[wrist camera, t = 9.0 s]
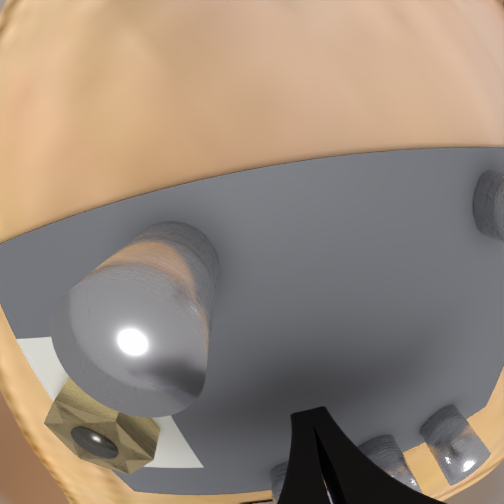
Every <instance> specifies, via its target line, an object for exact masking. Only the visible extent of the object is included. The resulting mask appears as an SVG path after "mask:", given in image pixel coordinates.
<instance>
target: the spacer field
mask: <svg viewBox="0 0 504 504" xmlns="http://www.w3.org/2000/svg"><path fill="white" fill-rule="evenodd" d="M472 210H473V218H474V222H475V225H476V227H477V229H478V230H479V232H480V233H482V234H483V235H485V236H488V237H490V238H493V239H495V240H498V241H500V242H503V243H504V172H501V171H493V170H488V171H486V172H484V173H483V174H482V175H481V176H480V178H479V179H478V181H477V183H476V186H475V189H474V194H473V202H472ZM218 277H219V260H218V256H217V252H216V250H215V248H214V246H213V244H212V243H211V241H210V240H209V239H208V238H207V236H206V235H204V234H203V233H202V232H201V231H200V230H198V229H197V228H195V227H193V226H191V225H189V224H186V223H182V222H177V221H167V222H161V223H158V224H155V225H153V226H151V227H150V228H148V229H147V230H145V231H144V232H142V233H141V234H140V235H138V236H137V237H136V238H134V239H133V240H132V241H130V242H129V243H128V244H126V245H125V246H124V247H122V248H121V249H120V250H119V251H117V252H116V253H115V254H113V255H112V256H111V257H109V258H108V259H107V260H106V261H104V262H103V263H102V264H101V265H99V266H98V267H97V268H96V269H94V270H93V271H92V272H91V273H89V274H88V275H87V276H86V277H85V278H83V279H82V280H81V281H80V282H79V283H77V284H76V285H75V286H74V287H73V288H71V289H70V290H69V291H68V292H67V293H66V294H64V295H63V297H62V298H61V299H60V300H59V301H58V303H57V305H56V307H55V309H54V311H53V314H52V319H51V338H52V343H53V347H54V350H55V352H56V355H57V357H58V359H59V361H60V363H61V365H62V367H63V368H64V370H65V371H66V373H67V374H68V375H69V377H70V378H71V379H72V380H73V381H74V382H75V384H76V385H77V386H78V387H79V388H81V389H82V390H83V391H84V392H85V393H86V394H88V395H89V396H90V397H92V398H93V399H94V400H96V401H98V402H99V403H101V404H103V405H105V406H107V407H108V408H111V409H113V410H115V411H118V412H121V413H124V414H127V415H132V416H137V417H145V418H156V417H165V416H170V415H173V414H176V413H178V412H181V411H183V410H184V409H186V408H187V407H189V406H190V405H191V404H192V403H193V402H195V401H196V399H197V398H198V397H199V395H200V393H201V391H202V389H203V387H204V383H205V378H206V369H207V361H208V352H209V344H210V336H211V328H212V321H213V313H214V305H215V298H216V291H217V284H218ZM420 434H421V436H422V438H423V439H424V441H425V443H426V444H427V446H428V448H429V449H430V451H431V453H432V454H433V456H434V458H435V460H436V461H437V463H438V465H439V466H440V468H441V470H442V472H443V473H444V475H445V477H446V479H447V481H448V482H449V484H450V485H454V484H456V483H458V482H460V481H462V480H463V479H465V478H466V477H467V476H469V475H470V474H472V473H473V472H474V471H475V470H476V469H478V468H479V467H480V466H481V465H482V464H483V463H484V462H485V461H486V460H487V459H488V457H489V456H490V454H491V453H490V452H489V450H488V449H487V448H486V446H485V445H484V443H483V442H482V441H481V439H480V438H479V436H478V435H477V434H476V432H475V431H474V430H473V428H472V427H471V426H470V424H469V423H468V422H467V420H466V419H465V418H464V416H463V415H462V414H461V413H460V411H459V410H458V409H457V407H456V406H455V405H454V404H450V405H447V406H445V407H443V408H441V409H439V410H438V411H436V412H435V413H434V414H433V415H431V416H430V417H429V418H428V419H427V420H426V421H425V423H424V424H423V425H422V427H421V429H420ZM357 448H358V449H359V450H360V451H361V452H363V453H364V454H365V455H366V456H367V457H368V458H369V459H370V460H371V461H372V462H374V463H375V464H376V465H377V466H378V467H380V468H381V469H382V470H384V471H385V472H386V473H388V474H389V475H391V476H392V477H394V478H395V479H397V480H398V481H400V482H402V483H403V484H405V485H407V486H408V487H410V488H412V489H414V490H416V491H418V492H420V493H422V491H421V489H420V487H419V485H418V483H417V481H416V479H415V477H414V475H413V473H412V471H411V469H410V467H409V465H408V463H407V461H406V459H405V458H404V456H403V454H402V452H401V450H400V448H399V446H398V444H397V442H396V440H395V438H394V437H393V436H392V435H381V436H377V437H374V438H372V439H370V440H368V441H366V442H364V443H362V444H361V445H360V446H358V447H357ZM288 462H289V461H287V462H284V463H281V464H279V465H277V466H275V467H274V468H272V469H271V471H270V482H271V490H272V497H273V504H277V502H278V499H279V497H280V493H281V490H282V487H283V484H284V480H285V476H286V471H287V467H288ZM422 494H423V493H422Z"/></svg>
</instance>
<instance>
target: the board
mask: <svg viewBox="0 0 504 504" xmlns="http://www.w3.org/2000/svg"><path fill="white" fill-rule="evenodd" d="M488 170H493V171H501V172H504V148H477V147H464V148H426V149H407V150H393V151H380V152H369V153H359V154H350V155H341V156H333V157H325V158H318V159H311V160H304V161H297V162H291V163H284V164H278V165H273V166H267V167H261V168H256V169H250V170H245V171H240V172H235V173H230V174H225V175H220V176H216V177H211V178H207V179H202V180H198V181H194V182H189V183H185V184H181V185H177V186H173V187H169V188H165V189H161V190H157V191H154V192H150V193H146V194H142V195H139V196H135V197H132V198H128V199H125V200H121V201H118V202H115V203H111V204H108V205H105V206H102V207H98V208H95V209H92V210H89V211H86V212H83V213H80V214H77V215H74V216H71V217H68V218H65V219H63V220H60V221H57V222H54V223H51V224H49V225H46V226H43V227H41V228H38V229H35V230H33V231H30V232H28V233H25V234H23V235H20V236H18V237H15V238H13V239H10V240H8V241H6V242H3V243H1V244H0V304H1V307H2V309H3V311H4V314H5V316H6V318H7V320H8V322H9V325H10V327H11V329H12V331H13V333H14V335H15V337H16V340H17V342H18V344H19V346H20V348H21V350H22V352H23V353H24V355H25V357H26V359H27V361H28V362H29V364H30V366H31V368H32V369H33V371H34V373H35V374H36V376H37V377H38V379H39V381H40V382H41V384H42V385H43V387H44V388H45V390H46V391H47V393H48V394H49V396H50V397H51V399H52V400H53V402H54V400H55V398H56V397H57V395H58V394H59V392H60V390H61V389H62V387H63V386H64V384H65V383H66V381H67V380H68V378H69V375H68V374H67V373H66V371H65V370H64V368H63V367H62V365H61V363H60V361H59V359H58V357H57V355H56V352H55V350H54V347H53V343H52V338H51V319H52V314H53V311H54V309H55V307H56V305H57V303H58V301H59V300H60V299H61V298H62V297H63V295H64V294H66V293H67V292H68V291H69V290H70V289H71V288H73V287H74V286H75V285H76V284H77V283H79V282H80V281H81V280H82V279H83V278H85V277H86V276H87V275H88V274H89V273H91V272H92V271H93V270H94V269H96V268H97V267H98V266H99V265H101V264H102V263H103V262H104V261H106V260H107V259H108V258H109V257H111V256H112V255H113V254H115V253H116V252H117V251H119V250H120V249H121V248H122V247H124V246H125V245H126V244H128V243H129V242H130V241H132V240H133V239H134V238H136V237H137V236H138V235H140V234H141V233H142V232H144V231H145V230H147V229H148V228H150V227H151V226H153V225H155V224H158V223H161V222H167V221H177V222H182V223H186V224H189V225H191V226H193V227H195V228H197V229H198V230H200V231H201V232H202V233H203V234H204V235H206V236H207V238H208V239H209V240H210V241H211V243H212V244H213V246H214V248H215V250H216V252H217V256H218V260H219V277H218V284H217V291H216V298H215V305H214V313H213V321H212V328H211V336H210V344H209V352H208V361H207V369H206V378H205V383H204V387H203V389H202V391H201V393H200V395H199V397H198V398H197V399H196V401H195V402H193V403H192V404H191V405H190V406H189V407H187V408H186V409H184V410H183V411H181V412H178V413H176V414H173V415H170V416H165V417H156V418H152V420H153V421H154V422H155V423H156V424H157V425H158V426H159V428H160V434H159V438H158V442H157V447H156V452H155V456H154V460H153V461H151V462H150V463H148V464H146V465H145V466H143V467H142V468H140V469H138V470H137V471H135V472H133V473H132V474H126V473H122V472H119V471H115V470H112V469H111V470H112V471H113V472H114V473H115V474H116V475H117V476H119V477H120V478H121V479H122V480H123V481H124V482H125V483H126V484H127V485H128V486H129V487H130V488H132V489H133V490H134V491H138V492H147V493H158V494H175V495H218V494H235V493H247V492H256V491H264V490H271V482H270V471H271V469H272V468H274V467H275V466H277V465H279V464H281V463H284V462H287V461H289V455H290V448H291V435H292V427H291V418H290V415H291V414H292V413H296V412H300V411H305V410H309V409H313V408H317V407H321V406H324V407H326V408H327V410H328V412H329V413H330V415H331V416H332V418H333V419H334V421H335V422H336V423H337V425H338V426H339V427H340V428H341V430H342V431H343V432H344V433H345V435H346V436H347V437H348V438H349V439H350V440H351V441H352V442H353V443H354V444H355V446H356V447H358V446H360V445H361V444H362V443H364V442H366V441H368V440H370V439H372V438H374V437H377V436H381V435H392V436H393V437H394V438H395V440H396V442H397V444H398V446H399V448H400V450H401V452H404V451H407V450H409V449H411V448H413V447H415V446H417V445H420V444H422V443H424V442H425V441H424V439H423V438H422V436H421V434H420V429H421V427H422V425H423V424H424V423H425V421H426V420H427V419H428V418H429V417H430V416H431V415H433V414H434V413H435V412H436V411H438V410H439V409H441V408H443V407H445V406H447V405H450V404H454V405H455V406H456V407H457V409H458V410H459V411H460V413H461V414H462V415H463V416H464V418H465V419H467V418H469V417H470V416H472V415H473V414H475V413H476V412H478V411H479V410H481V409H482V408H484V407H485V406H486V405H487V403H488V401H489V399H490V396H491V394H492V392H493V390H494V388H495V385H496V383H497V381H498V378H499V376H500V373H501V371H502V368H503V366H504V243H503V242H500V241H498V240H495V239H493V238H490V237H488V236H485V235H483V234H482V233H480V232H479V230H478V229H477V227H476V225H475V222H474V218H473V210H472V202H473V194H474V189H475V186H476V183H477V181H478V179H479V178H480V176H481V175H482V174H483V173H484V172H486V171H488ZM323 479H324V478H323Z"/></svg>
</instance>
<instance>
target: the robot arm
mask: <svg viewBox="0 0 504 504" xmlns="http://www.w3.org/2000/svg"><path fill="white" fill-rule="evenodd" d="M290 418H291V427H292V435H291V448H290V455H289V462H288V467H287V471H286V476H285V480H284V484H283V487H282V490H281V493H280V497H279V499H278V502H277V504H446V503H444V502H441V501H438V500H436V499H433V498H431V497H428V496H426V495H424V494H422V493H420V492H418V491H416V490H414V489H412V488H410V487H408V486H407V485H405V484H403V483H402V482H400V481H398V480H397V479H395V478H394V477H392V476H391V475H389V474H388V473H386V472H385V471H384V470H382V469H381V468H380V467H378V466H377V465H376V464H375V463H374V462H372V461H371V460H370V459H369V458H368V457H367V456H366V455H365V454H364V453H363V452H361V451H360V450H359V449H358V448H357V447H356V446H355V444H354V443H353V442H352V441H351V440H350V439H349V438H348V437H347V436H346V435H345V433H344V432H343V431H342V430H341V428H340V427H339V426H338V425H337V423H336V422H335V421H334V419H333V418H332V416H331V415H330V413H329V412H328V410H327V408H326V407H324V406H321V407H317V408H313V409H309V410H305V411H300V412H296V413H292V414H291V415H290ZM323 478H324V480H323ZM324 481H325V483H326V486H327V489H328V490H326V486H325V483H324ZM254 504H273V501H271V502H263V503H254Z"/></svg>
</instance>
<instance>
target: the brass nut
mask: <svg viewBox="0 0 504 504" xmlns="http://www.w3.org/2000/svg"><path fill="white" fill-rule="evenodd" d="M44 424H45V425H46V426H47V427H48V428H49V429H50V430H51V431H52V432H53V433H54V434H55V435H56V436H57V437H58V438H59V439H60V440H61V441H62V442H63V443H64V444H65V445H66V446H67V447H68V448H69V449H70V450H71V451H72V452H73V453H74V454H75V455H77V456H78V457H79V458H80V459H83V460H85V461H88V462H91V463H94V464H97V465H100V466H103V467H106V468H109V469H112V470H115V471H119V472H122V473H126V474H132V473H133V472H135V471H137V470H138V469H140V468H142V467H143V466H145V465H146V464H148V463H150V462H151V461H153V460H154V456H155V452H156V447H157V442H158V438H159V434H160V428H159V426H158V425H157V424H156V423H155V422H154V421H153V420H152V418H145V417H137V416H132V415H127V414H124V413H121V412H118V411H115V410H113V409H111V408H108V407H107V406H105V405H103V404H101V403H99V402H98V401H96V400H94V399H93V398H92V397H90V396H89V395H88V394H86V393H85V392H84V391H83V390H82V389H81V388H79V387H78V386H77V385H76V384H75V382H74V381H73V380H72V379H71V378H70V377H69V378H68V380H67V381H66V383H65V384H64V386H63V387H62V389H61V390H60V392H59V394H58V395H57V397H56V398H55V400H54V402H53V404H52V406H51V409H50V411H49V413H48V415H47V417H46V420H45V422H44Z"/></svg>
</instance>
